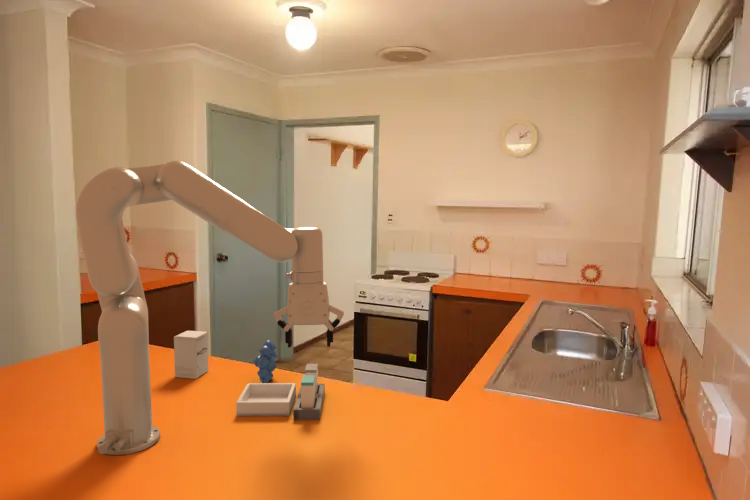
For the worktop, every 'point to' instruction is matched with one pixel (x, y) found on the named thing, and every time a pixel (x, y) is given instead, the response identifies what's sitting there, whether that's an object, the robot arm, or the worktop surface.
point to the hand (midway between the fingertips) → (309, 345)
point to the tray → (266, 399)
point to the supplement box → (191, 354)
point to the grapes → (266, 361)
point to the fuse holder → (309, 412)
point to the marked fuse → (308, 391)
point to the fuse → (313, 373)
